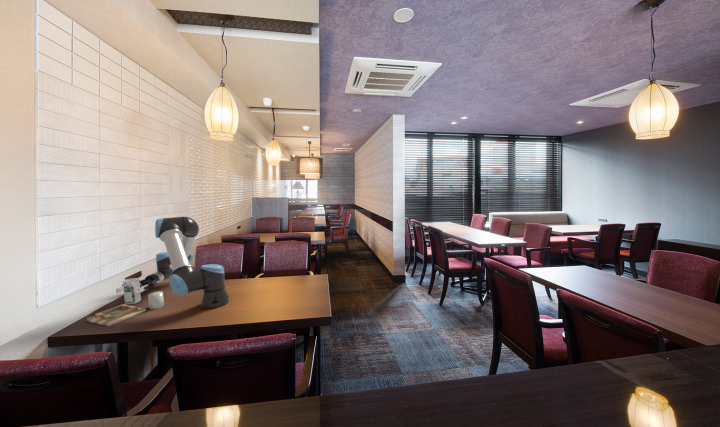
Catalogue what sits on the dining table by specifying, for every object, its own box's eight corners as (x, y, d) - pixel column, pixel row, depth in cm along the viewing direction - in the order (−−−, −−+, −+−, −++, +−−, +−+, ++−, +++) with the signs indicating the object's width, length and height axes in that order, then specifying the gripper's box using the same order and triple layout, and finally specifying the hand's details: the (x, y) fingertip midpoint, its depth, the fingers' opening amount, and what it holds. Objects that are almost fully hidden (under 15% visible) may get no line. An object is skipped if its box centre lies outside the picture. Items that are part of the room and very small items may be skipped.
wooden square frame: (146, 311, 159) (145, 305, 158) (108, 326, 142) (107, 320, 141) (125, 307, 165) (124, 301, 164) (87, 321, 148) (86, 315, 148)
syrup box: (124, 304, 168) (122, 281, 167) (132, 300, 174) (129, 278, 173) (134, 304, 169) (131, 280, 167) (141, 300, 174) (139, 277, 173)
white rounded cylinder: (166, 305, 166) (165, 292, 165) (154, 310, 160) (153, 296, 159) (158, 303, 169) (157, 290, 168) (146, 308, 162) (145, 295, 161)
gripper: (172, 284, 189) (149, 296, 168) (136, 285, 189) (108, 297, 168) (171, 273, 189) (148, 284, 167) (135, 274, 189) (106, 285, 168)
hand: (127, 290), depth 168 cm, fingers open, 13 cm apart
